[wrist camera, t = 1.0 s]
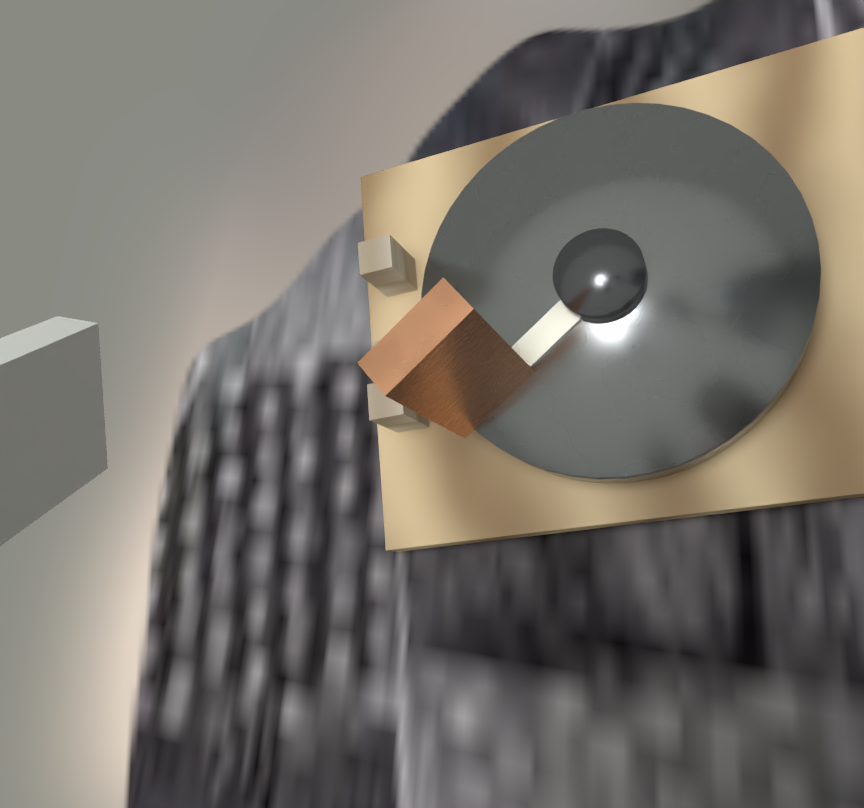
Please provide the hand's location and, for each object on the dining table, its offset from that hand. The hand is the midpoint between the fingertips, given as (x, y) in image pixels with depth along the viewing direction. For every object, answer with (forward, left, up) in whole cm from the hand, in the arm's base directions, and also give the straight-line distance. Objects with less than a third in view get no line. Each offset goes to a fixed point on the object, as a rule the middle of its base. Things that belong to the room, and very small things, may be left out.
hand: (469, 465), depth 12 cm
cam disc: (0, -10, -21) cm, 23 cm away
